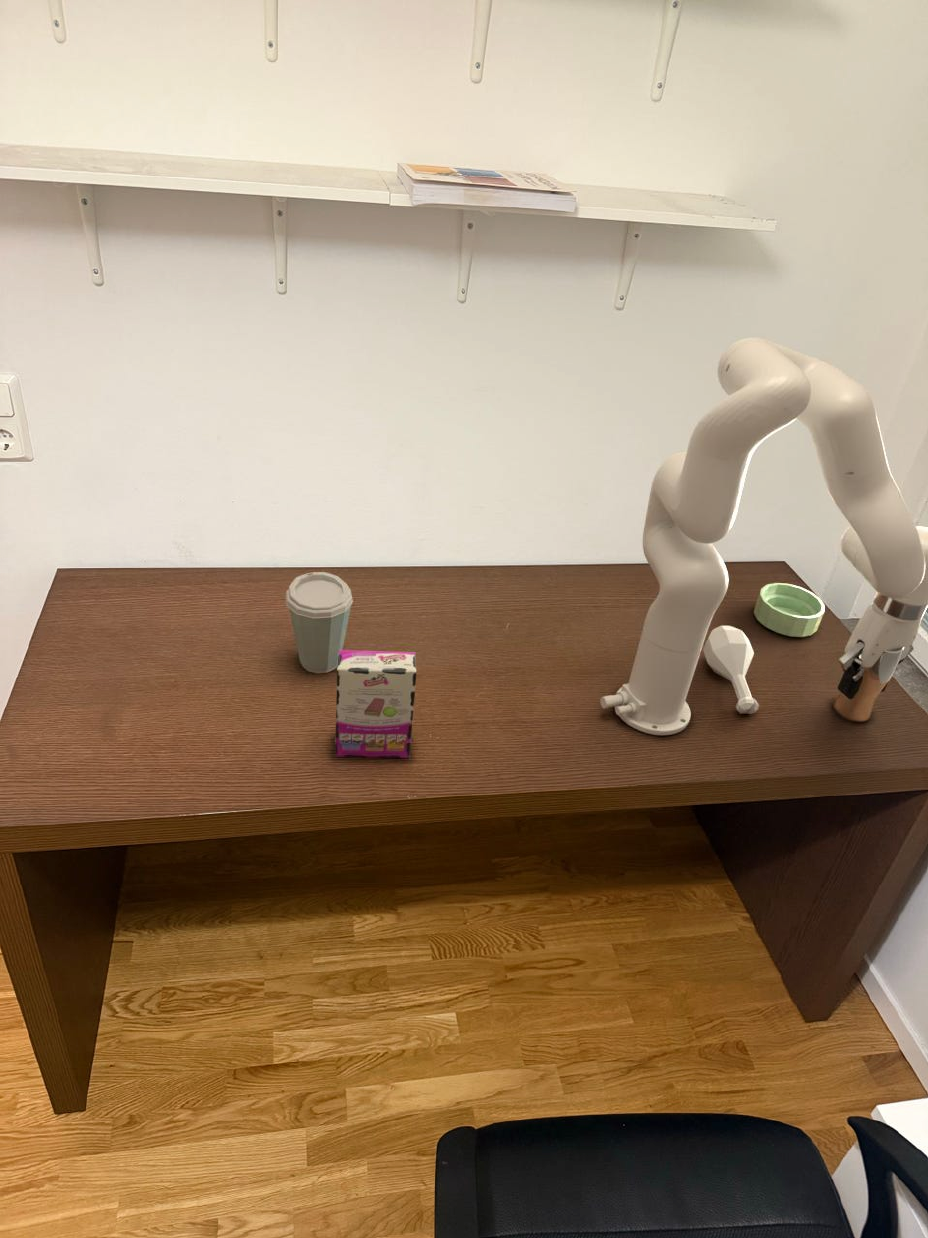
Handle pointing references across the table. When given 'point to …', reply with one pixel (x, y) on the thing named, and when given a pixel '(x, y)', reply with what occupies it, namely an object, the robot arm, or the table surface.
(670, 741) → the table surface
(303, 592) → the disposable coffee cup
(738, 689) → the chicken leg
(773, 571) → the table surface
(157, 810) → the table surface
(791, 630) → the sage bowl
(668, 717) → the robot arm
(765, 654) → the table surface
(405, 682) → the candy bar box
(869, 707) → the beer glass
